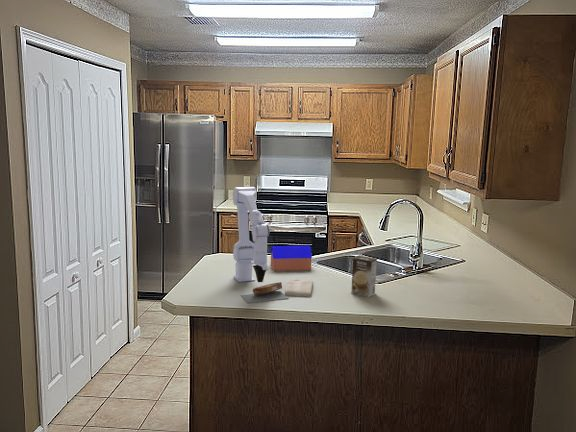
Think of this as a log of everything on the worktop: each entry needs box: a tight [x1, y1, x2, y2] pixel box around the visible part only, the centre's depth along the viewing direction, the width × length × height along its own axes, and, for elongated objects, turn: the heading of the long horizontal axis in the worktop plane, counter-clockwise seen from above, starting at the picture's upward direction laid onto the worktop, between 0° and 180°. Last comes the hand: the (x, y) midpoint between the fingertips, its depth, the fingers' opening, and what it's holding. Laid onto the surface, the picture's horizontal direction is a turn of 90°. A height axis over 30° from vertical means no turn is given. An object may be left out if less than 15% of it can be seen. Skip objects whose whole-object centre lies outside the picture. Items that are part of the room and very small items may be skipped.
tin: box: [252, 282, 283, 295], centre depth 222 cm, size 15×3×8 cm
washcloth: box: [284, 279, 314, 298], centre depth 229 cm, size 12×18×3 cm, turn 175°
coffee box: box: [350, 254, 378, 298], centre depth 225 cm, size 9×6×16 cm
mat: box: [240, 290, 289, 304], centre depth 218 cm, size 10×18×1 cm, turn 111°
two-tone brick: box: [269, 245, 313, 272], centre depth 265 cm, size 12×20×12 cm, turn 100°
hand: (260, 281), depth 224 cm, fingers closed
